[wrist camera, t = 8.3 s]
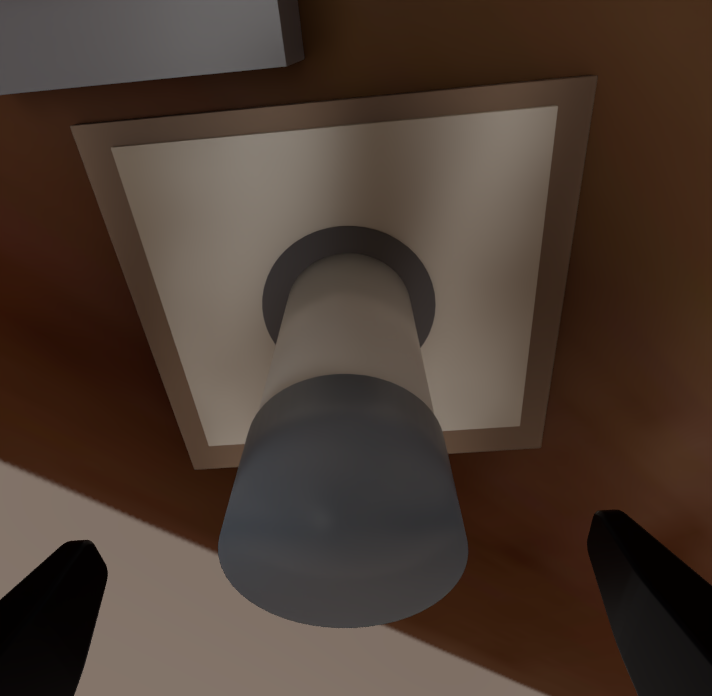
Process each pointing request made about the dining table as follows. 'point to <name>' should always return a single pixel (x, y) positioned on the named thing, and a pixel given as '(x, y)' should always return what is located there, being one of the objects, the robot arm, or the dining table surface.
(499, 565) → the dining table surface
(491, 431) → the white flat square panel
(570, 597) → the dining table surface
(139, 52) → the button housing
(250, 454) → the grey cylinder
